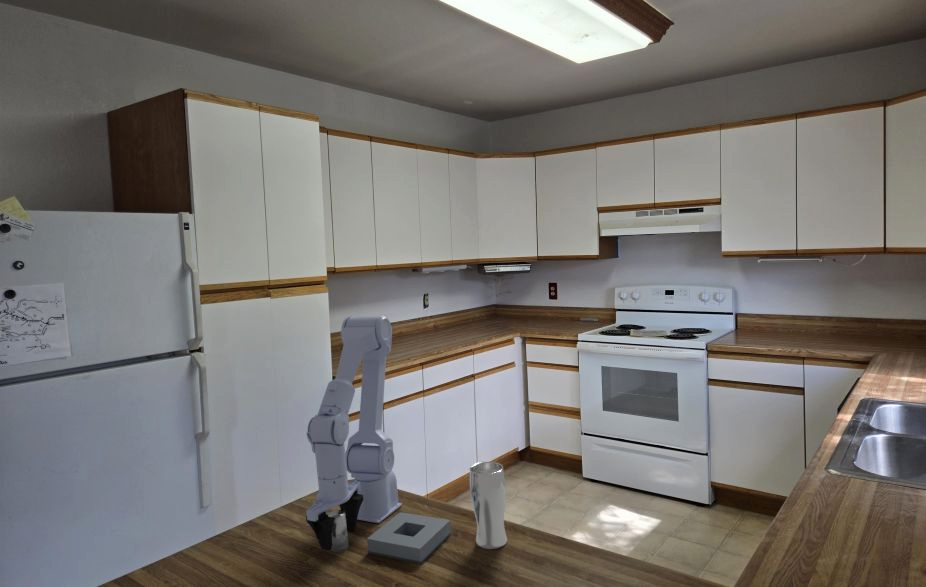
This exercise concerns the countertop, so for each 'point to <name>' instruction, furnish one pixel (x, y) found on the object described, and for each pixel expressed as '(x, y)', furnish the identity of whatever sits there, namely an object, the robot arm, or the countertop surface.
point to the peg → (339, 531)
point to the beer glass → (488, 503)
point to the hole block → (409, 537)
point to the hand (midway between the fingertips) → (338, 539)
